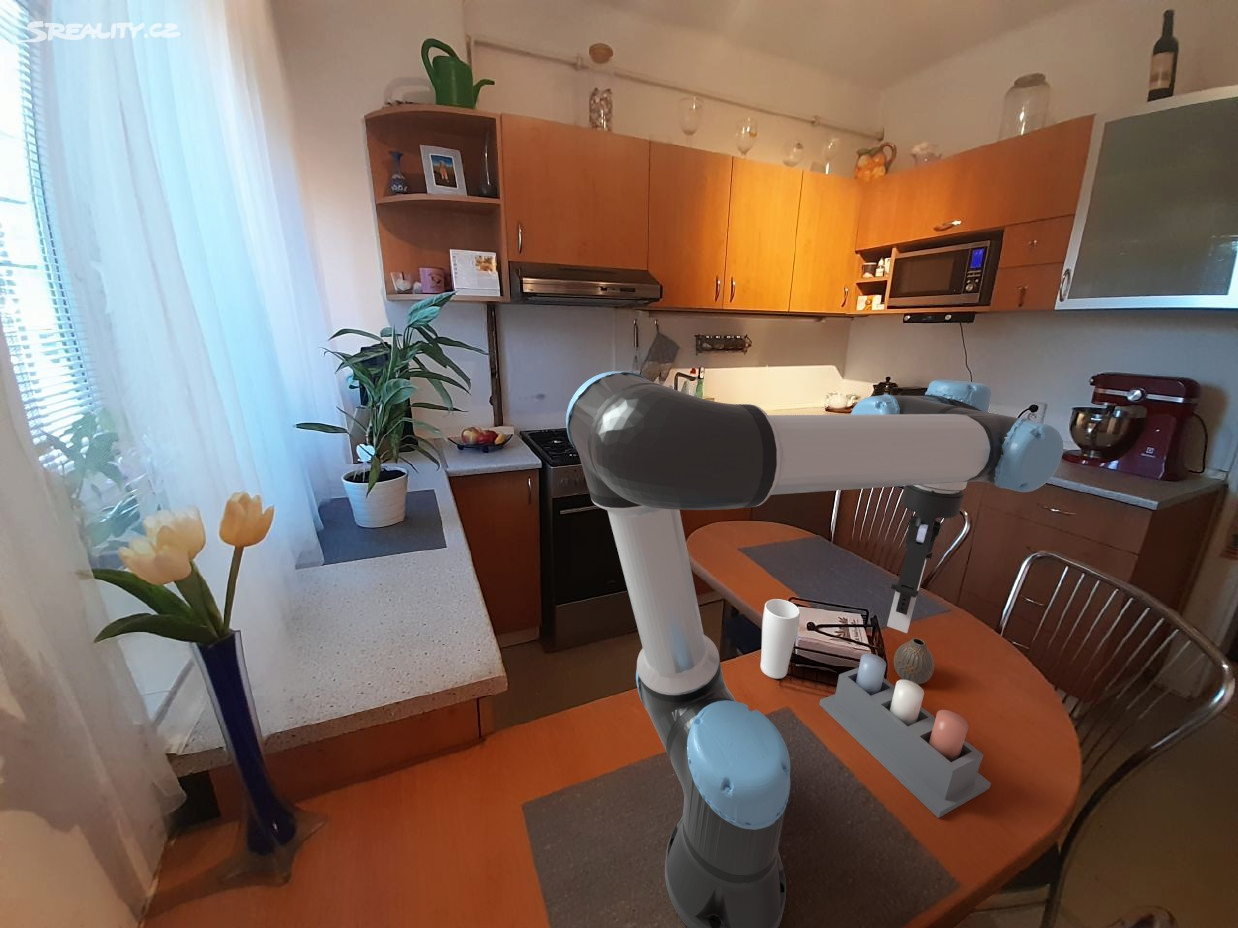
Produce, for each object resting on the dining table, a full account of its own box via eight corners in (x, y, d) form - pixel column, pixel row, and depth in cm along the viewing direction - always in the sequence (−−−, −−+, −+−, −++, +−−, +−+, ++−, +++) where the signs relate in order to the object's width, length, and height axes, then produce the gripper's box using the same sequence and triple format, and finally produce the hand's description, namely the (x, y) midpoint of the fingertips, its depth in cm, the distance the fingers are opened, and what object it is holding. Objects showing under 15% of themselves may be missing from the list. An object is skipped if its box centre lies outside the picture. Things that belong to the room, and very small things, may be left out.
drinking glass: (795, 683, 95) (805, 619, 91) (761, 682, 96) (769, 618, 91) (784, 659, 102) (793, 598, 97) (752, 658, 102) (760, 597, 98)
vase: (927, 695, 93) (937, 658, 91) (888, 679, 97) (896, 643, 94) (931, 675, 98) (941, 639, 96) (893, 660, 102) (902, 626, 100)
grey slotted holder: (938, 818, 70) (949, 782, 68) (819, 704, 90) (824, 674, 88) (989, 788, 75) (1000, 754, 73) (865, 686, 95) (871, 657, 93)
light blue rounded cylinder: (868, 703, 85) (875, 671, 83) (849, 688, 88) (856, 656, 86) (883, 697, 86) (891, 665, 84) (865, 682, 90) (872, 651, 88)
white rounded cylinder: (904, 734, 79) (912, 700, 77) (882, 716, 82) (890, 683, 80) (920, 727, 80) (929, 693, 78) (898, 709, 84) (907, 676, 82)
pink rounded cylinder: (946, 770, 73) (957, 734, 70) (921, 749, 76) (930, 714, 74) (963, 761, 74) (974, 726, 72) (938, 741, 78) (947, 706, 75)
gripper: (961, 516, 60) (921, 658, 66) (967, 472, 79) (936, 585, 85) (894, 501, 64) (862, 636, 70) (915, 462, 83) (889, 571, 89)
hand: (903, 608), depth 78 cm, fingers open, 13 cm apart
